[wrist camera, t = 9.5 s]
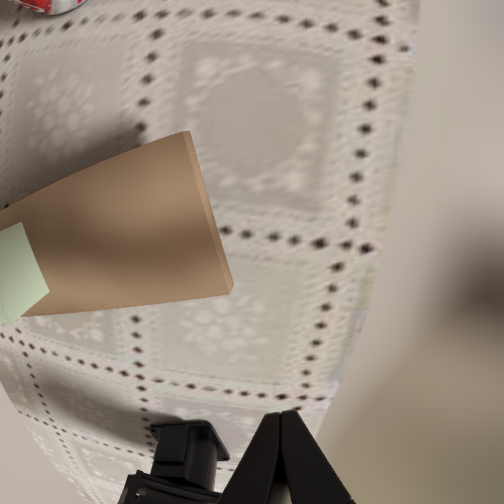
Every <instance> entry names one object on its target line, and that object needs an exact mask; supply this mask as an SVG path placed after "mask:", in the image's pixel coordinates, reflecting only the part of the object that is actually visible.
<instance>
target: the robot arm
mask: <svg viewBox="0 0 504 504" xmlns="http://www.w3.org/2000/svg"><path fill="white" fill-rule="evenodd" d="M149 431H150V433H151V434H152V435H153V437H154V438H155V439H156V441H157V442H158V443H157V447H156V450H155V454H154V457H153V460H154V461H153V465H152V468H151V472H150V474H147V473H144V472H143V471H140V470H137V472H136V474H133V475H128V477H127V480H126V483H125V486H124V489H123V492H122V494H121V496H120V499H119V501H118V504H291V503H292V504H356V503H355V501H354V500H353V499H352V498H351V496H350V494H349V493H348V491H347V490H346V488H345V487H344V485H343V483H342V482H341V480H340V479H339V477H338V476H337V474H336V473H335V471H334V470H333V468H332V466H331V465H330V463H329V462H328V461H327V459H326V457H325V455H324V454H323V453H322V451H321V449H320V448H319V446H318V444H317V443H316V441H315V440H314V438H313V436H312V435H311V433H310V432H309V430H308V428H307V427H306V425H305V423H304V422H303V420H302V419H301V417H300V415H299V414H298V412H297V411H296V410H295V409H292V410H286V411H282V412H281V413H280V412H273V413H267V414H265V415H264V417H263V419H262V421H261V423H260V425H259V427H258V429H257V431H256V432H255V434H254V436H253V438H252V440H251V442H250V444H249V446H248V448H247V450H246V451H245V453H244V455H243V457H242V459H241V461H240V462H239V464H238V466H237V468H236V470H235V471H234V473H233V475H232V477H231V479H230V480H229V482H228V484H227V486H226V487H225V489H224V491H223V493H219V492H214V483H215V475H216V467H217V461H228V460H229V459H230V455H229V453H228V452H227V450H226V448H225V447H224V445H223V443H222V441H221V440H220V438H219V436H218V435H217V433H216V431H215V429H214V427H213V426H212V424H210V423H207V422H204V423H189V424H165V425H150V427H149ZM138 494H140V495H139V496H138Z"/></svg>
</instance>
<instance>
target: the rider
mask: <svg viewBox="0 0 504 504" xmlns="http://www.w3.org/2000/svg"><path fill="white" fill-rule="evenodd" d="M49 292H50V291H49V289H48V287H47V285H46V282H45V280H44V278H43V276H42V273H41V271H40V269H39V266H38V264H37V261H36V259H35V256H34V254H33V251H32V249H31V246H30V244H29V241H28V238H27V236H26V233H25V230H24V227H23V224H22V221H21V222H19V223H17V224H15V225H13V226H11V227H8V228H6V229H4V230H2V231H0V324H11V323H13V322H14V321H16V320H17V319H18V318H19V317H20V316H21V315H23V314H24V313H25V312H26V311H27V310H28V309H30V308H31V307H32V306H33V305H34V304H35V303H37V302H38V301H39V300H40V299H41V298H43V297H44V296H45V295H46V294H48V293H49Z"/></svg>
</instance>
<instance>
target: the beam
mask: <svg viewBox="0 0 504 504" xmlns="http://www.w3.org/2000/svg"><path fill="white" fill-rule="evenodd" d="M21 221H22V224H23V227H24V230H25V233H26V236H27V238H28V241H29V244H30V246H31V249H32V251H33V254H34V256H35V259H36V261H37V264H38V266H39V269H40V271H41V273H42V276H43V278H44V280H45V282H46V285H47V287H48V289H49V291H50V292H49V293H48V294H46V295H45V296H44V297H43V298H41V299H40V300H39V301H38V302H37V303H35V304H34V305H33V306H32V307H31V308H30V309H28V310H27V311H26V312H25V313H24V314H23V315H21V316H20V317H28V316H41V315H53V314H64V313H75V312H86V311H96V310H106V309H115V308H124V307H133V306H142V305H151V304H159V303H167V302H175V301H183V300H191V299H199V298H206V297H214V296H221V295H228V294H230V293H231V291H232V288H233V286H234V283H233V280H232V276H231V273H230V270H229V266H228V263H227V260H226V256H225V253H224V250H223V246H222V243H221V239H220V236H219V233H218V229H217V226H216V222H215V219H214V216H213V212H212V209H211V205H210V202H209V198H208V195H207V191H206V188H205V184H204V181H203V177H202V174H201V170H200V166H199V163H198V159H197V156H196V152H195V148H194V145H193V141H192V137H191V134H190V131H184V132H180V133H176V134H173V135H170V136H168V137H165V138H162V139H159V140H156V141H153V142H150V143H148V144H145V145H142V146H139V147H137V148H134V149H131V150H129V151H126V152H124V153H121V154H119V155H116V156H114V157H111V158H109V159H106V160H104V161H101V162H99V163H97V164H94V165H92V166H90V167H87V168H85V169H83V170H81V171H78V172H76V173H74V174H72V175H70V176H67V177H65V178H63V179H61V180H59V181H57V182H55V183H53V184H51V185H49V186H46V187H44V188H42V189H40V190H39V191H37V192H35V193H33V194H31V195H29V196H27V197H25V198H23V199H21V200H19V201H18V202H16V203H14V204H12V205H10V206H8V207H7V208H5V209H3V210H1V211H0V231H2V230H4V229H6V228H8V227H11V226H13V225H15V224H17V223H19V222H21Z"/></svg>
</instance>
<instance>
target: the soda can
mask: <svg viewBox="0 0 504 504" xmlns="http://www.w3.org/2000/svg"><path fill="white" fill-rule="evenodd" d="M9 1H11V2H14V3H17V4H19V5H22V6H25V7H27V8H30V9H32V10H35V11H37V12H40V13H42V14H46V15H57V14H61V13H64V12H67V11H69V10H72V9H74V8H76V7H77V6H79V5H81V4H83V3H84V2H86V1H87V0H9Z"/></svg>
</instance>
